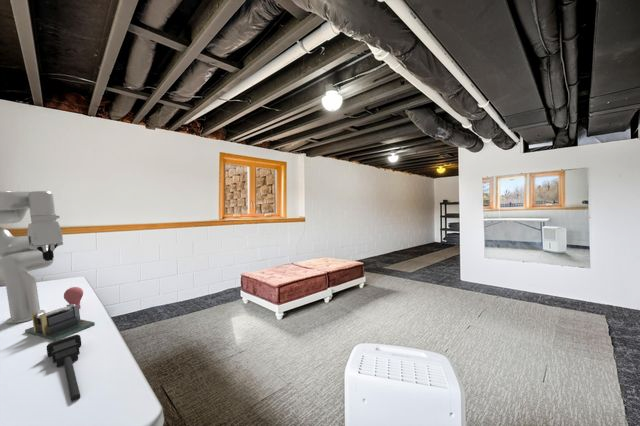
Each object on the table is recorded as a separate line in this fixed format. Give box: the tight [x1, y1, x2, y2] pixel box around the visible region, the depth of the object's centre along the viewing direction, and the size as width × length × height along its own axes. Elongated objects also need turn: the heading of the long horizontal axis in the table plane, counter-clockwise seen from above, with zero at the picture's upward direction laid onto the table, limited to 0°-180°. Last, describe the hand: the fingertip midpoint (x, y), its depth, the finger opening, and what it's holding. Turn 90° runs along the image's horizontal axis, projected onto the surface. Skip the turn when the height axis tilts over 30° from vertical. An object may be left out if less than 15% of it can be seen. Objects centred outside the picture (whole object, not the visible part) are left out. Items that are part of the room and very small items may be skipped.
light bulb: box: [63, 286, 84, 310], centre depth 131 cm, size 7×7×12 cm
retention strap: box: [37, 304, 75, 319], centre depth 112 cm, size 3×12×2 cm, turn 157°
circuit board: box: [24, 303, 96, 342], centre depth 112 cm, size 24×13×9 cm, turn 67°
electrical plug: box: [46, 334, 82, 403], centre depth 83 cm, size 9×42×5 cm, turn 47°
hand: (48, 260), depth 117 cm, fingers closed
